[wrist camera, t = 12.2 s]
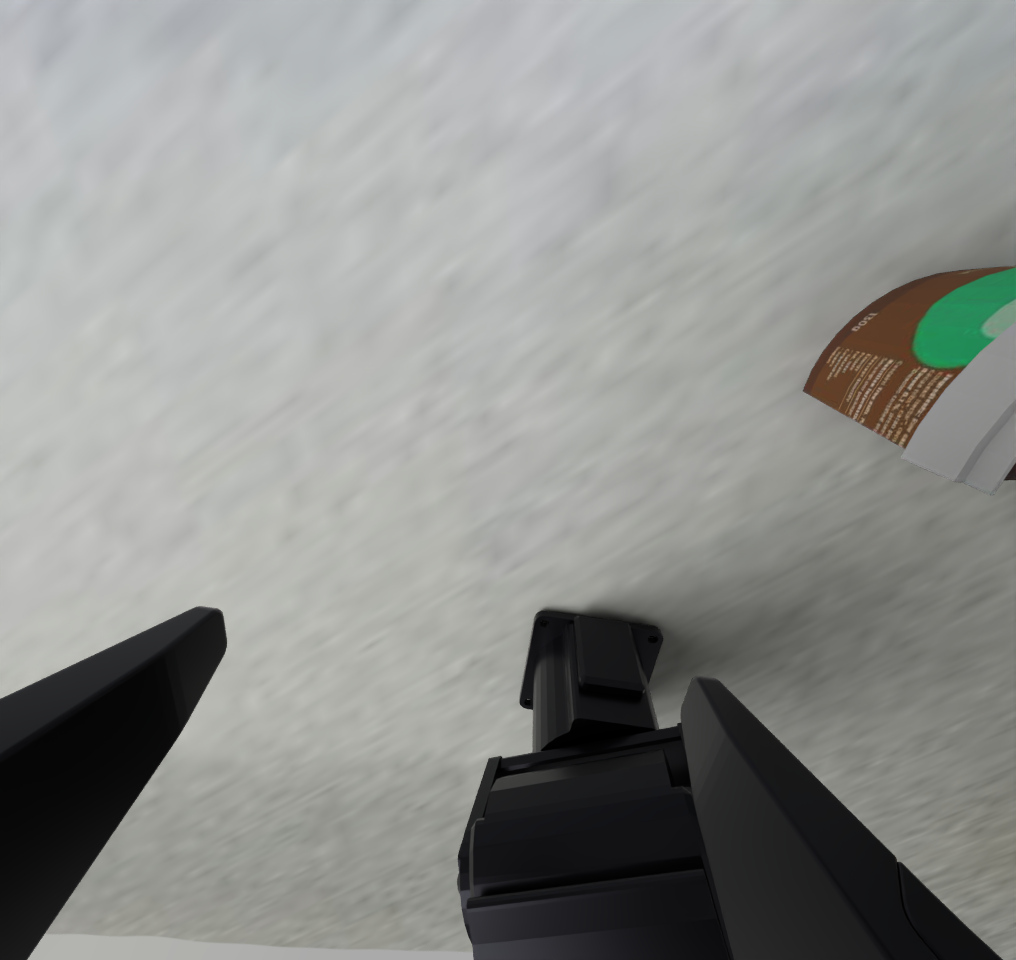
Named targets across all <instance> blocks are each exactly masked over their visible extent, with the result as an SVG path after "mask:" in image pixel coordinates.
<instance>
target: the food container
mask: <svg viewBox="0 0 1016 960" xmlns="http://www.w3.org/2000/svg"><path fill="white" fill-rule="evenodd" d="M803 392H805V393H807V394H809V395H810V396H812V397H814V398H816V399H817V400H819V401H821V402H823V403H824V404H826V405H828V406H830V407H832V408H833V409H835V410H837V411H839V412H840V413H842V414H844V415H846V416H847V417H849V418H851V419H853V420H854V421H856V422H858V423H860V424H862V425H863V426H865V427H867V428H869V429H870V430H872V431H874V432H876V433H877V434H879V435H881V436H883V437H884V438H886V439H888V440H890V441H892V442H893V443H895V444H897V445H899V446H900V447H902V448H904V449H905V450H904V452H903V454H902V456H901V459H903V460H906V461H908V462H910V463H912V464H915V465H917V466H919V467H922V468H924V469H926V470H928V471H931V472H933V473H935V474H938V475H940V476H942V477H944V478H947V479H949V480H951V481H954V482H963V483H965V484H967V485H969V486H971V487H974V488H976V489H978V490H980V491H982V492H984V493H986V494H988V495H992V496H993V495H994V494H995V492H996V491H997V489H998V488H999V486H1000V485H1001V483H1002V482H1003V480H1016V266H1006V267H994V268H982V269H971V270H959V271H952V272H945V273H938V274H934V275H931V276H927V277H924V278H921V279H917V280H914V281H912V282H910V283H908V284H905V285H903V286H901V287H899V288H896V289H894V290H892V291H891V292H889V293H887V294H886V295H884V296H882V297H881V298H879V299H877V300H876V301H874V302H872V303H871V304H870V305H869V306H867V307H866V308H865V309H864V310H862V311H861V312H860V313H858V314H857V315H856V316H855V317H853V318H852V319H851V320H850V321H849V322H848V323H847V324H846V325H845V326H844V327H843V328H842V329H841V330H840V331H839V332H838V333H837V334H836V336H835V337H834V338H833V340H832V341H831V342H830V343H829V345H828V346H827V347H826V348H825V350H824V351H823V352H822V354H821V356H820V357H819V359H818V361H817V362H816V364H815V366H814V367H813V369H812V371H811V373H810V375H809V378H808V380H807V382H806V384H805V387H804V389H803Z"/></svg>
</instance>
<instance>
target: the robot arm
mask: <svg viewBox="0 0 1016 960" xmlns="http://www.w3.org/2000/svg"><path fill="white" fill-rule="evenodd" d="M542 620H547V621H548V622H546V623H543V622H541V621H542ZM651 635H655V637H653V638H649V636H651ZM662 641H663V636H662V633H661V631H660V629H659V628H658V627H655V626H649V625H642V624H635V623H628V622H621V621H614V620H607V619H600V618H593V617H586V616H579V615H572V614H564V613H557V612H550V611H540V612H538V613H537V614H536V615H535V618H534V623H533V628H532V633H531V639H530V644H529V649H528V655H527V660H526V665H525V671H524V676H523V681H522V687H521V692H520V705H521V706H522V707H523V708H526V709H532V710H533V752H532V753H528V754H523V755H518V756H512V757H507V758H502V756H499V757H493V758H489V759H488V762H487V765H486V769H485V772H484V775H483V778H482V781H481V784H480V787H479V790H478V793H477V796H476V799H475V802H474V805H473V808H472V811H471V815H470V818H469V821H468V824H467V827H466V830H465V833H464V837H463V840H462V844H461V847H460V850H459V854H458V866H459V874H458V879H457V885H458V891H459V893H460V896H461V906H462V912H463V917H464V923H465V927H466V930H467V933H468V936H469V939H470V941H471V943H472V945H473V956H474V960H1003V959H1002V958H1001V957H999V956H998V955H997V954H996V953H995V952H994V951H993V950H992V949H991V948H990V947H989V946H988V945H986V944H985V943H984V942H983V941H982V940H981V939H980V938H979V937H978V936H977V935H976V934H975V933H973V932H972V931H971V930H970V929H969V928H968V927H967V926H966V925H965V924H964V923H963V922H962V921H961V920H960V919H959V918H958V917H957V916H956V915H955V914H954V913H953V912H952V911H950V910H949V909H948V908H947V907H946V906H945V905H944V904H943V903H942V902H941V901H940V900H939V899H938V898H937V897H936V896H935V895H934V894H933V893H932V892H931V891H930V890H929V889H928V888H927V887H926V886H925V885H924V884H923V883H922V882H921V881H920V880H919V879H918V878H917V877H916V876H915V875H914V874H913V873H912V872H911V871H910V870H909V869H908V868H907V867H906V866H905V865H904V864H903V863H901V862H897V859H896V857H895V856H894V855H893V854H892V853H891V852H890V851H889V850H888V849H887V848H886V847H885V846H884V845H883V844H882V843H881V842H880V841H879V840H878V839H877V838H876V837H875V836H874V835H873V834H872V833H871V832H870V831H869V830H868V829H867V828H866V827H865V826H864V825H863V824H862V823H861V822H860V821H859V820H858V819H857V818H856V817H855V816H854V815H853V814H852V813H851V812H850V811H849V810H848V809H847V808H846V807H845V806H844V805H843V804H842V803H841V802H840V801H839V800H838V799H837V798H836V797H835V796H834V795H833V794H832V793H831V792H830V791H829V790H828V789H827V788H826V787H825V786H824V785H823V784H822V783H821V782H820V781H819V780H818V779H817V778H816V777H815V776H814V775H813V774H812V773H811V772H810V771H809V770H808V769H807V768H806V767H805V766H804V765H803V764H802V763H801V762H800V761H799V760H798V759H797V758H796V757H795V756H794V755H793V754H792V753H791V752H790V751H789V750H788V749H787V748H786V747H785V746H784V745H783V744H782V743H781V742H780V741H779V740H778V739H777V738H776V737H775V736H774V735H773V734H772V733H771V732H770V731H769V730H768V729H767V728H766V727H765V726H764V725H763V724H762V723H761V722H760V721H759V720H758V719H757V718H756V717H755V716H754V715H753V714H752V713H751V712H750V711H749V710H748V709H747V708H746V707H745V706H744V705H743V704H742V703H741V702H740V701H739V700H738V699H737V698H736V697H735V696H734V695H733V694H732V693H731V692H730V691H729V690H728V689H727V688H726V687H725V686H724V685H723V684H722V683H721V682H720V681H719V680H717V679H715V678H709V677H702V676H695V677H694V678H693V679H692V681H691V683H690V686H689V688H688V691H687V694H686V696H685V699H684V701H683V704H682V707H681V723H677V725H678V726H675V727H670V728H665V729H659V725H658V722H657V718H656V714H655V710H654V706H653V702H652V698H651V695H650V691H649V687H648V683H649V680H650V677H651V674H652V671H653V668H654V665H655V662H656V659H657V656H658V653H659V650H660V647H661V644H662ZM226 648H227V637H226V630H225V623H224V616H223V613H222V611H221V610H219V609H217V608H210V607H203V606H198V607H195V608H193V609H190V610H188V611H186V612H184V613H182V614H180V615H178V616H176V617H173V618H171V619H169V620H167V621H165V622H163V623H161V624H159V625H156V626H154V627H152V628H150V629H148V630H146V631H144V632H142V633H139V634H137V635H135V636H133V637H131V638H129V639H127V640H125V641H122V642H120V643H118V644H116V645H114V646H112V647H110V648H108V649H105V650H103V651H101V652H99V653H97V654H95V655H93V656H91V657H88V658H86V659H84V660H82V661H80V662H78V663H76V664H74V665H71V666H69V667H67V668H65V669H63V670H61V671H59V672H57V673H54V674H52V675H50V676H48V677H46V678H44V679H42V680H39V681H37V682H35V683H33V684H31V685H29V686H27V687H25V688H22V689H20V690H18V691H16V692H14V693H12V694H10V695H8V696H5V697H3V698H1V699H0V960H27V959H28V958H29V956H30V955H31V953H32V952H33V950H34V949H35V947H36V946H37V944H38V943H39V941H40V940H41V939H42V937H43V936H44V934H45V933H46V931H47V930H48V928H49V927H50V925H51V924H52V922H53V921H54V919H55V918H56V916H57V915H58V914H59V912H60V911H61V909H62V908H63V906H64V905H65V903H66V902H67V900H68V899H69V897H70V896H71V894H72V893H73V891H74V890H75V888H76V887H77V886H78V884H79V883H80V881H81V880H82V878H83V877H84V875H85V874H86V872H87V871H88V869H89V868H90V866H91V865H92V863H93V862H94V861H95V859H96V858H97V856H98V855H99V853H100V852H101V850H102V849H103V847H104V846H105V844H106V843H107V841H108V840H109V838H110V837H111V836H112V834H113V833H114V831H115V830H116V828H117V827H118V825H119V824H120V822H121V821H122V819H123V818H124V816H125V815H126V813H127V812H128V810H129V809H130V808H131V806H132V805H133V803H134V802H135V800H136V799H137V797H138V796H139V794H140V793H141V791H142V790H143V788H144V787H145V785H146V784H147V783H148V781H149V780H150V778H151V777H152V775H153V774H154V772H155V771H156V769H157V768H158V766H159V765H160V763H161V762H162V760H163V759H164V758H165V756H166V755H167V753H168V752H169V750H170V749H171V747H172V746H173V744H174V743H175V741H176V740H177V738H178V737H179V735H180V733H181V732H182V730H183V728H184V727H185V725H186V723H187V722H188V720H189V718H190V716H191V714H192V713H193V711H194V709H195V707H196V705H197V704H198V702H199V700H200V698H201V696H202V694H203V693H204V691H205V689H206V687H207V685H208V683H209V682H210V680H211V678H212V676H213V674H214V673H215V671H216V669H217V667H218V665H219V663H220V662H221V660H222V658H223V656H224V654H225V651H226ZM527 699H531V700H527Z"/></svg>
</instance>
